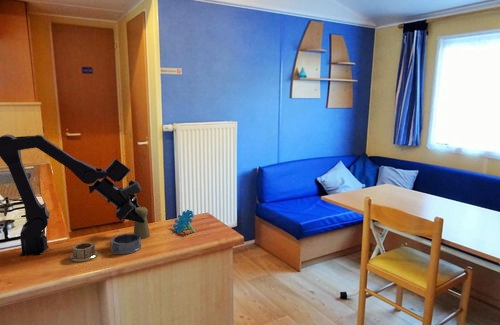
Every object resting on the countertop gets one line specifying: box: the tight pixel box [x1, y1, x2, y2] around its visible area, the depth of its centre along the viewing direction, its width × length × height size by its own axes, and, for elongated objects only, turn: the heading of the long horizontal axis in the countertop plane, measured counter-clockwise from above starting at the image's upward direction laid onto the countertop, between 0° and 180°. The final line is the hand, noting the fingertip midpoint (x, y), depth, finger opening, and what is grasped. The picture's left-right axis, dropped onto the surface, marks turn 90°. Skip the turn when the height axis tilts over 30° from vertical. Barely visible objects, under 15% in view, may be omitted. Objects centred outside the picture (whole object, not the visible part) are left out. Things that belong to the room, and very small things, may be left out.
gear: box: [172, 209, 196, 234], centre depth 136 cm, size 11×6×10 cm
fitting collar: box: [110, 232, 142, 256], centre depth 119 cm, size 10×10×4 cm
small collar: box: [70, 241, 99, 263], centre depth 112 cm, size 8×8×4 cm
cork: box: [133, 206, 151, 240], centre depth 129 cm, size 6×6×11 cm
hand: (144, 218), depth 129 cm, fingers open, 7 cm apart
